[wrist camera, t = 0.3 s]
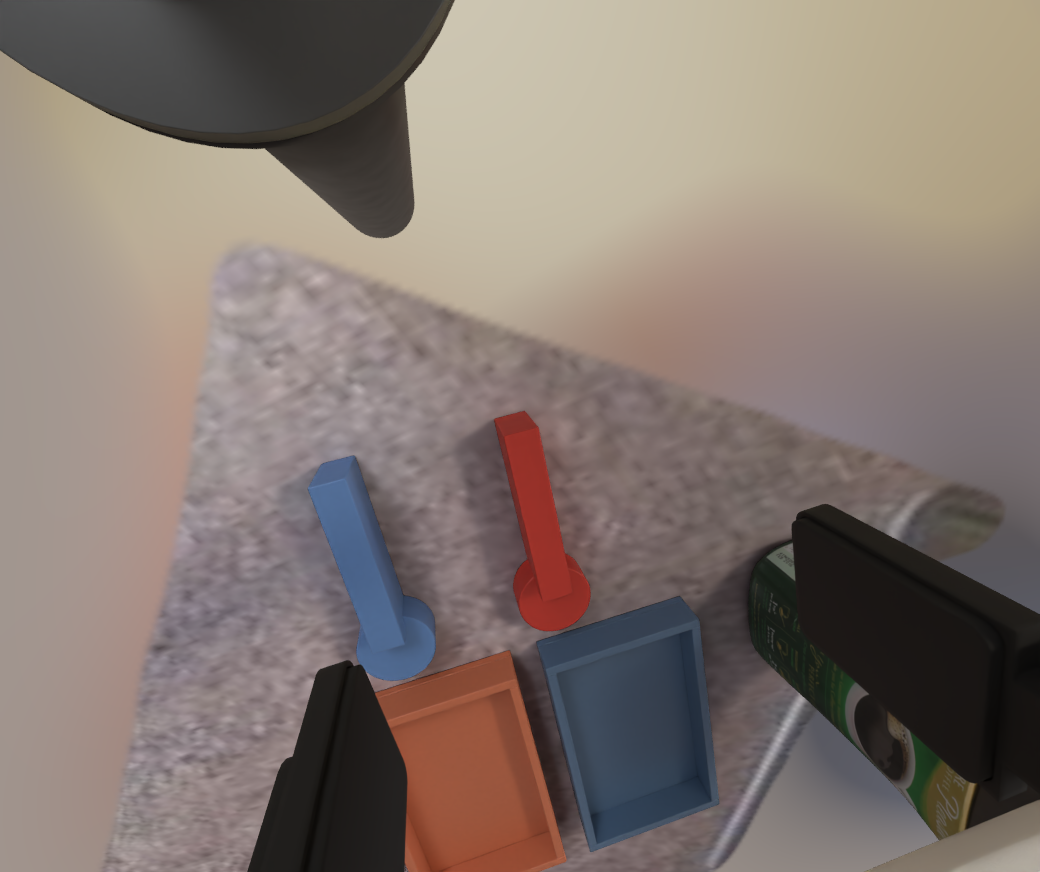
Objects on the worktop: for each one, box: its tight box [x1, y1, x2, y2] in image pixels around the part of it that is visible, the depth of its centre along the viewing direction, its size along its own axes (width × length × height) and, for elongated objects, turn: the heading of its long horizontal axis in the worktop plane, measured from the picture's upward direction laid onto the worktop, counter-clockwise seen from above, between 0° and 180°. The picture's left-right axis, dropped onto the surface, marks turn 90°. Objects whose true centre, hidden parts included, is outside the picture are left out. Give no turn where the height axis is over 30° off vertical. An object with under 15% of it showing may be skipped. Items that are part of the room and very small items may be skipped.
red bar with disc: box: [494, 411, 591, 631], centre depth 28 cm, size 13×4×3 cm, turn 12°
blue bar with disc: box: [308, 456, 436, 681], centre depth 27 cm, size 13×4×3 cm, turn 12°
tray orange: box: [375, 651, 566, 872], centre depth 33 cm, size 17×10×2 cm, turn 12°
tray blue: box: [536, 596, 719, 852], centre depth 34 cm, size 17×10×2 cm, turn 12°
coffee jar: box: [748, 541, 1040, 841], centre depth 26 cm, size 10×8×19 cm
